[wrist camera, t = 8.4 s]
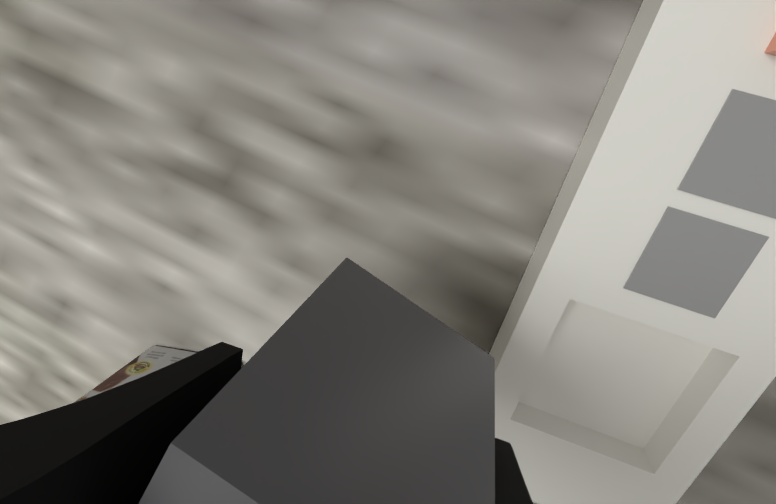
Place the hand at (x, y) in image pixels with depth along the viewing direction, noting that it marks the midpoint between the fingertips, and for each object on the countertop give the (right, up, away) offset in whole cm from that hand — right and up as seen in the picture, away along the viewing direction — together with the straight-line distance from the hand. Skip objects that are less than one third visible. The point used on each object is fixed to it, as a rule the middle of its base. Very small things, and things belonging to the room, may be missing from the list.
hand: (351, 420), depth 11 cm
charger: (+1, +1, +2) cm, 2 cm away
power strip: (+12, +3, +7) cm, 14 cm away
